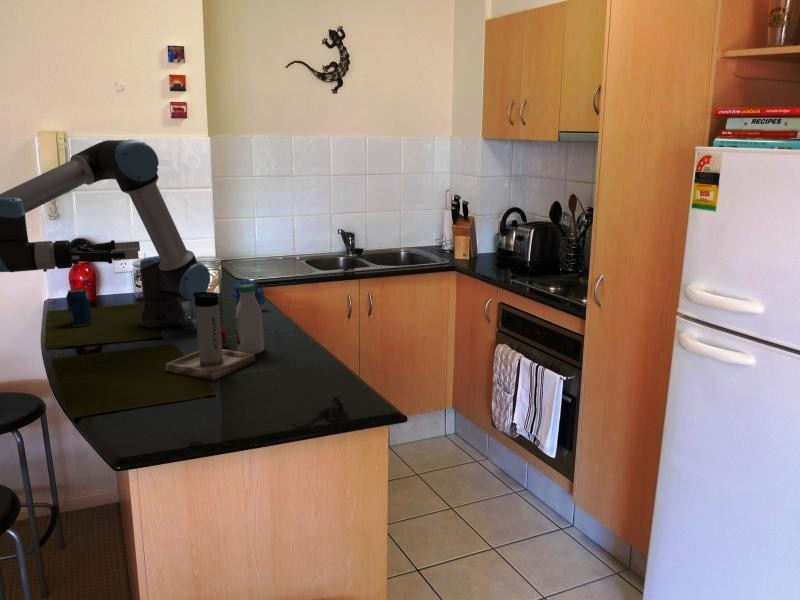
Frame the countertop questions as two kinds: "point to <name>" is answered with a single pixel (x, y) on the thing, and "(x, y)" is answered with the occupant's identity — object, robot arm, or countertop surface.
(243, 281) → the grapes
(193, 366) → the wood tray
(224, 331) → the pomegranate
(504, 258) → the countertop surface
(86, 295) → the soda can
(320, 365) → the countertop surface
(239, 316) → the milk bottle
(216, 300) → the travel mug
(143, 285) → the robot arm
